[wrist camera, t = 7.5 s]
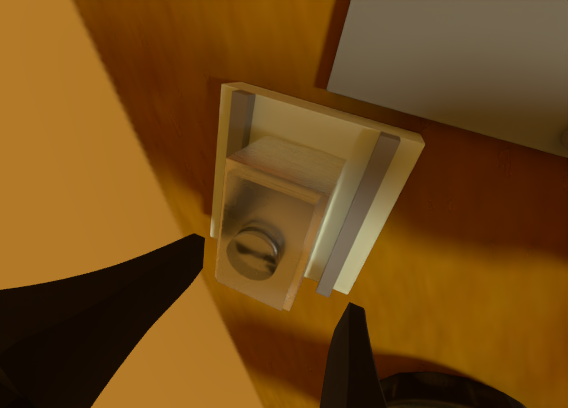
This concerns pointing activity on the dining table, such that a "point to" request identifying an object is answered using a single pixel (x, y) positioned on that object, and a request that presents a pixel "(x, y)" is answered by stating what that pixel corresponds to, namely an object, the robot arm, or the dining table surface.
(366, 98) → the mat
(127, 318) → the robot arm
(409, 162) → the stand
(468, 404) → the beer stein
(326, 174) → the housing
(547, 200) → the dining table surface
